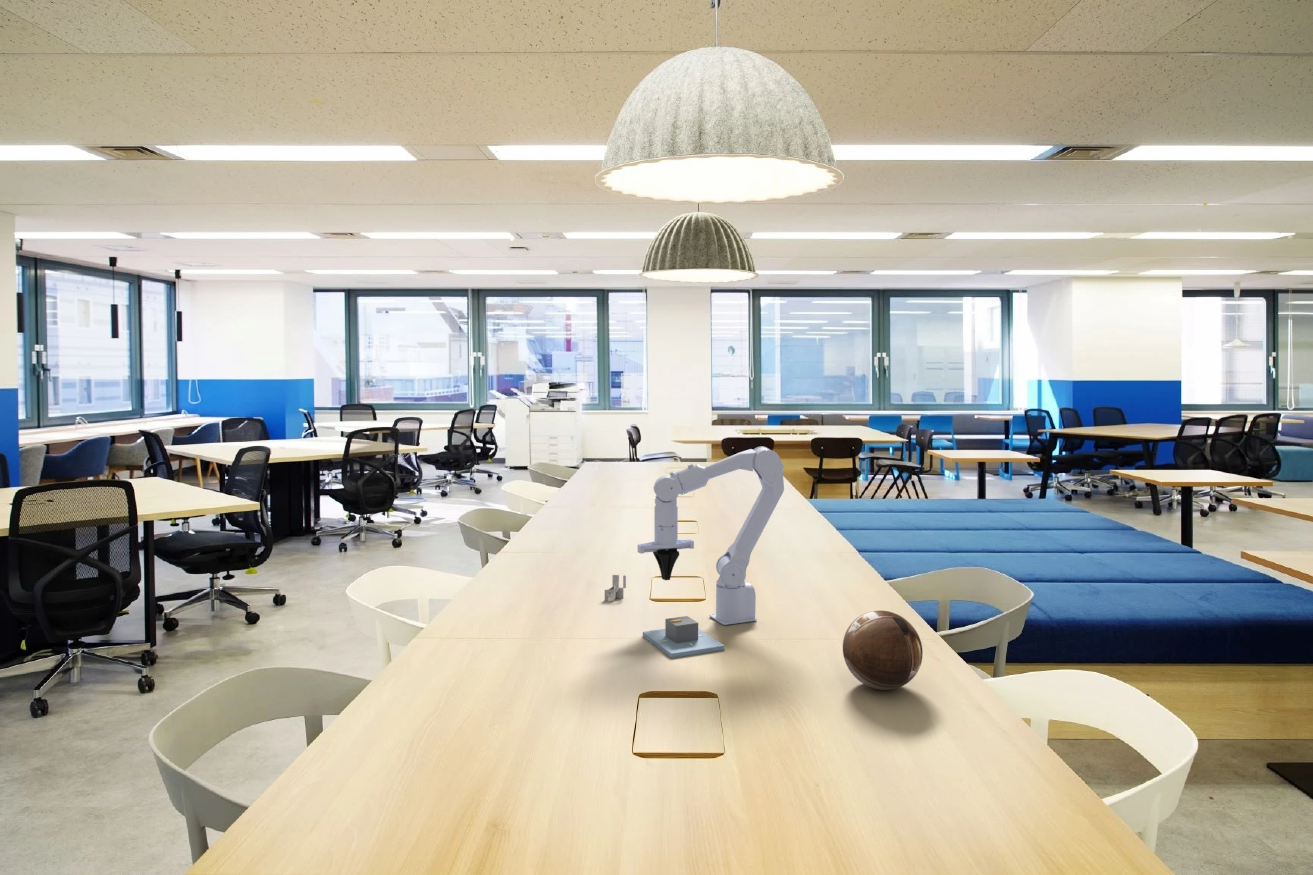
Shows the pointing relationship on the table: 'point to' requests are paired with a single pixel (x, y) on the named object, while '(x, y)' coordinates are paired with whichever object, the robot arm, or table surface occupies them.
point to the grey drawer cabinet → (681, 629)
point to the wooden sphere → (882, 650)
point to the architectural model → (615, 589)
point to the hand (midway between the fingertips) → (665, 579)
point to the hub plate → (683, 644)
